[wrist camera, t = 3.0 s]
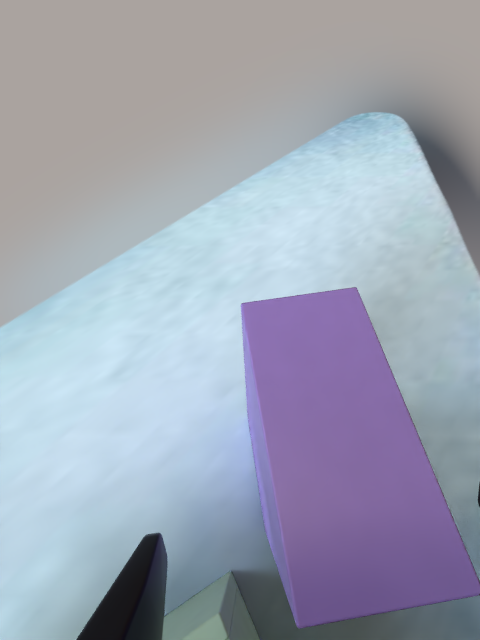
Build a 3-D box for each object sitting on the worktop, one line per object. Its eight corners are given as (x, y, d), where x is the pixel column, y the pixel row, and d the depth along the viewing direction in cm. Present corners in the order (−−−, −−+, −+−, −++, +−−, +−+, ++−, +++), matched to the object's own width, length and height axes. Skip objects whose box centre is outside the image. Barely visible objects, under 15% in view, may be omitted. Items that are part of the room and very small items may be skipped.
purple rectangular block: (320, 522, 16) (486, 595, 5) (265, 531, 16) (297, 630, 5) (294, 408, 19) (356, 286, 8) (247, 416, 19) (240, 302, 8)
